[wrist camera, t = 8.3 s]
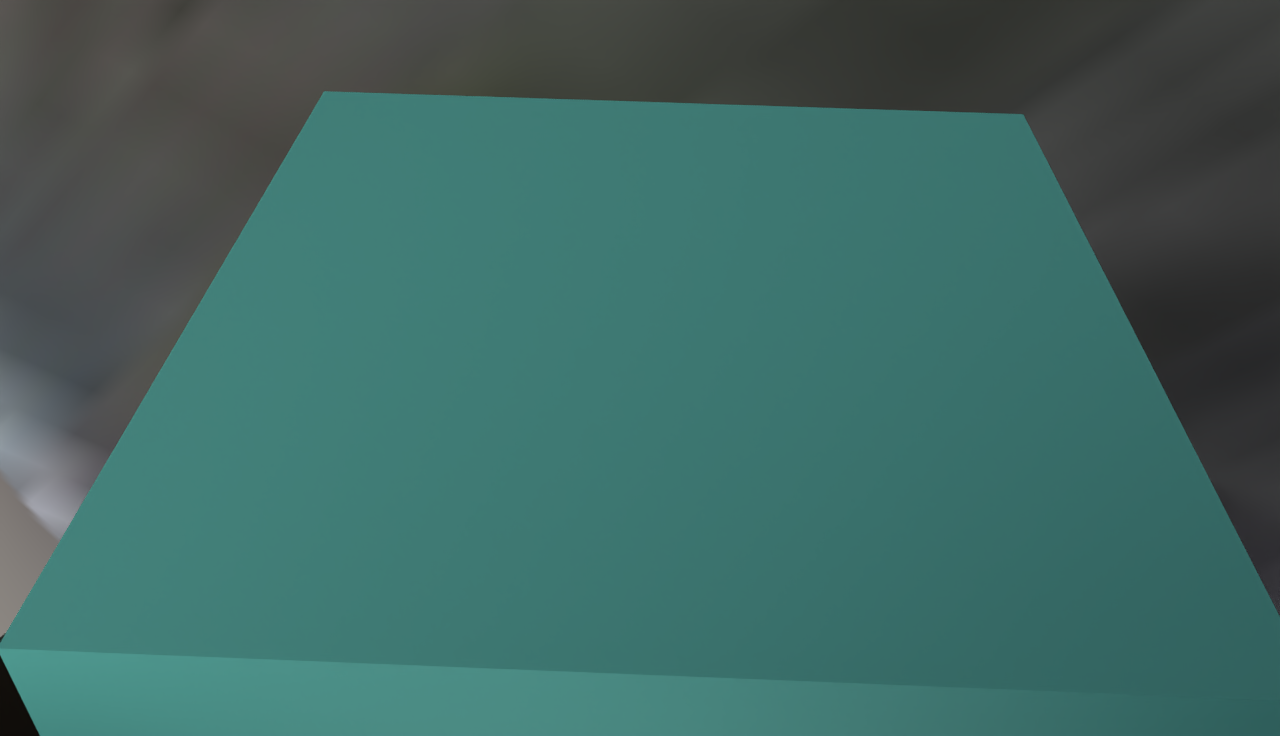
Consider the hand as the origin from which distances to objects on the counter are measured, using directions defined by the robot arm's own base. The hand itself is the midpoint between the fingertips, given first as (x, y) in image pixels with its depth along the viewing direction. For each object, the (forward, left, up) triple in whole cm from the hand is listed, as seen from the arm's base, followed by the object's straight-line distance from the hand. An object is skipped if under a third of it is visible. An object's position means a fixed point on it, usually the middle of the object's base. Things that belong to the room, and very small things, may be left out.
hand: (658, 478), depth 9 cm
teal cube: (0, 0, -1) cm, 1 cm away
